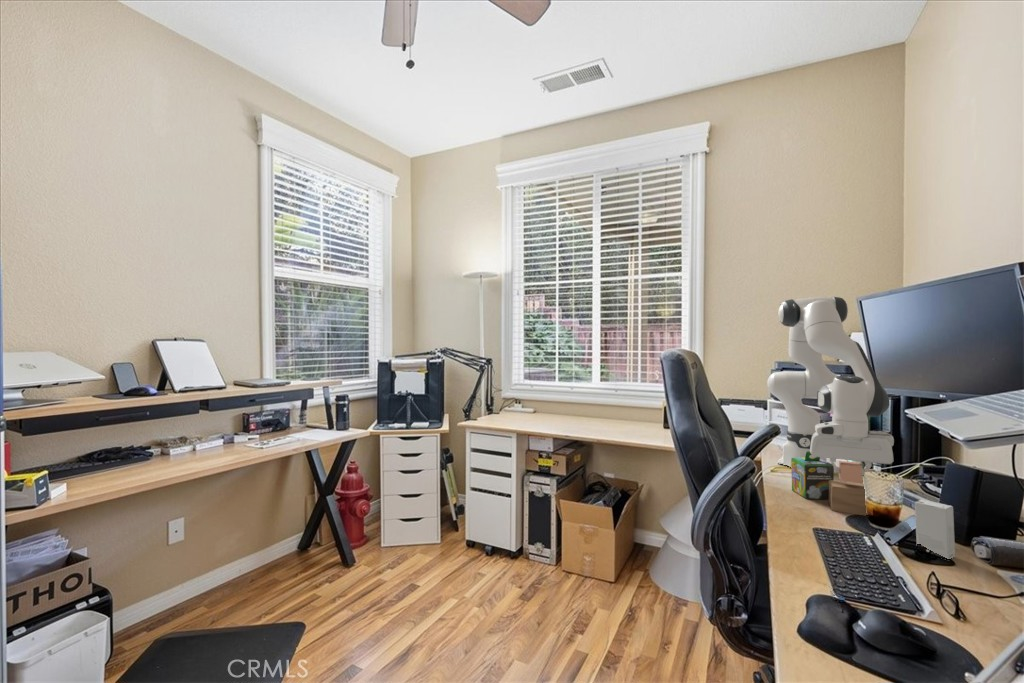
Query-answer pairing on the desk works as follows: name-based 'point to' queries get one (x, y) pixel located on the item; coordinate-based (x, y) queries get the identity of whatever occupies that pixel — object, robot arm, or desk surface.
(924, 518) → the skincare box
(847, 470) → the cube
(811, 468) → the chalk box
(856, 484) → the block
